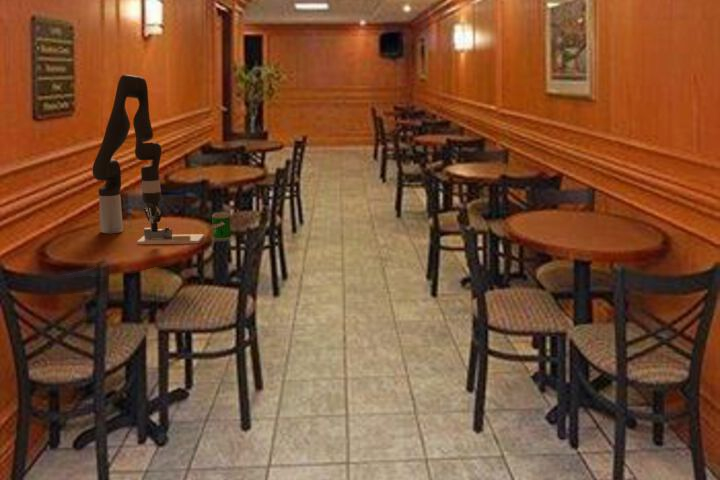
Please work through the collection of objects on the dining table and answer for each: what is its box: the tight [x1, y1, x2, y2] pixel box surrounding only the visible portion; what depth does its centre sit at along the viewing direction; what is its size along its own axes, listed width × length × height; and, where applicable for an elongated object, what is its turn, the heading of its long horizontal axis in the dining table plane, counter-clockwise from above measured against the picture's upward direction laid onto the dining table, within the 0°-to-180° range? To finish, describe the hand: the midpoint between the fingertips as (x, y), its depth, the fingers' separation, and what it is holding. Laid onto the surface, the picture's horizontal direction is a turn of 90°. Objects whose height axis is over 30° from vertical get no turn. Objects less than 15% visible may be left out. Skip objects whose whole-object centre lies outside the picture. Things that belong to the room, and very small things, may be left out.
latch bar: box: [143, 227, 173, 239], centre depth 329 cm, size 12×4×4 cm, turn 91°
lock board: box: [136, 233, 205, 245], centre depth 331 cm, size 26×13×3 cm, turn 91°
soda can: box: [211, 211, 232, 242], centre depth 330 cm, size 8×8×12 cm
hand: (154, 231), depth 323 cm, fingers closed
